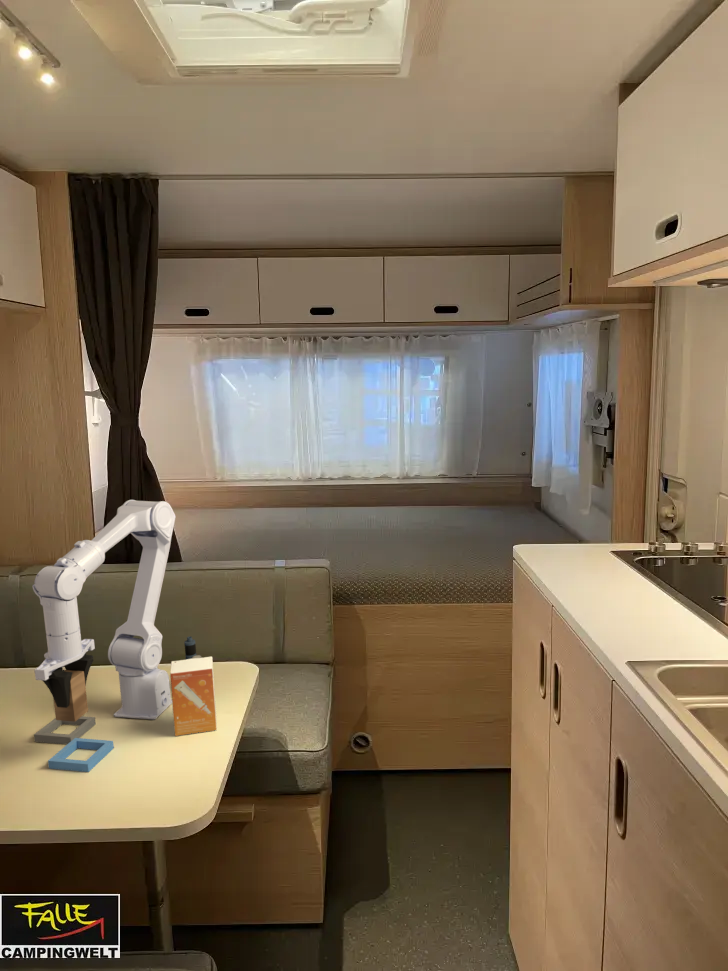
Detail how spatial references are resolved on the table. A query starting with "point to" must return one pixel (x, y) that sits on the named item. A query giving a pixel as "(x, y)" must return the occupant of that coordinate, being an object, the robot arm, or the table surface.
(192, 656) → the vaping device
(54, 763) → the blue rim cradle
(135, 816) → the table surface
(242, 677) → the table surface
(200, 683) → the small box
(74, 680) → the walnut peg
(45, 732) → the frame
